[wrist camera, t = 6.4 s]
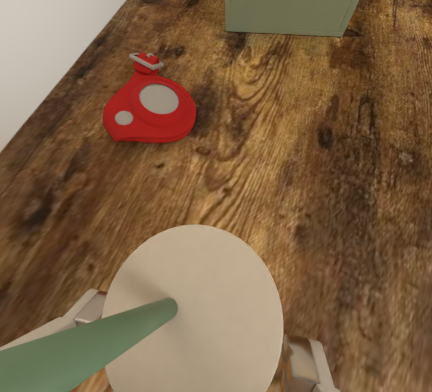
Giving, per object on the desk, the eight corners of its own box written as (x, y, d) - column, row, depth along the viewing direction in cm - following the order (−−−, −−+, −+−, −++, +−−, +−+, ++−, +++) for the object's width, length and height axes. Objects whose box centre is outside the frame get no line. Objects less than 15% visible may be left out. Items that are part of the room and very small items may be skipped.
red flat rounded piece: (216, 113, 22) (128, 151, 17) (207, 137, 26) (133, 173, 21) (153, 32, 23) (58, 51, 19) (153, 68, 27) (75, 89, 23)
